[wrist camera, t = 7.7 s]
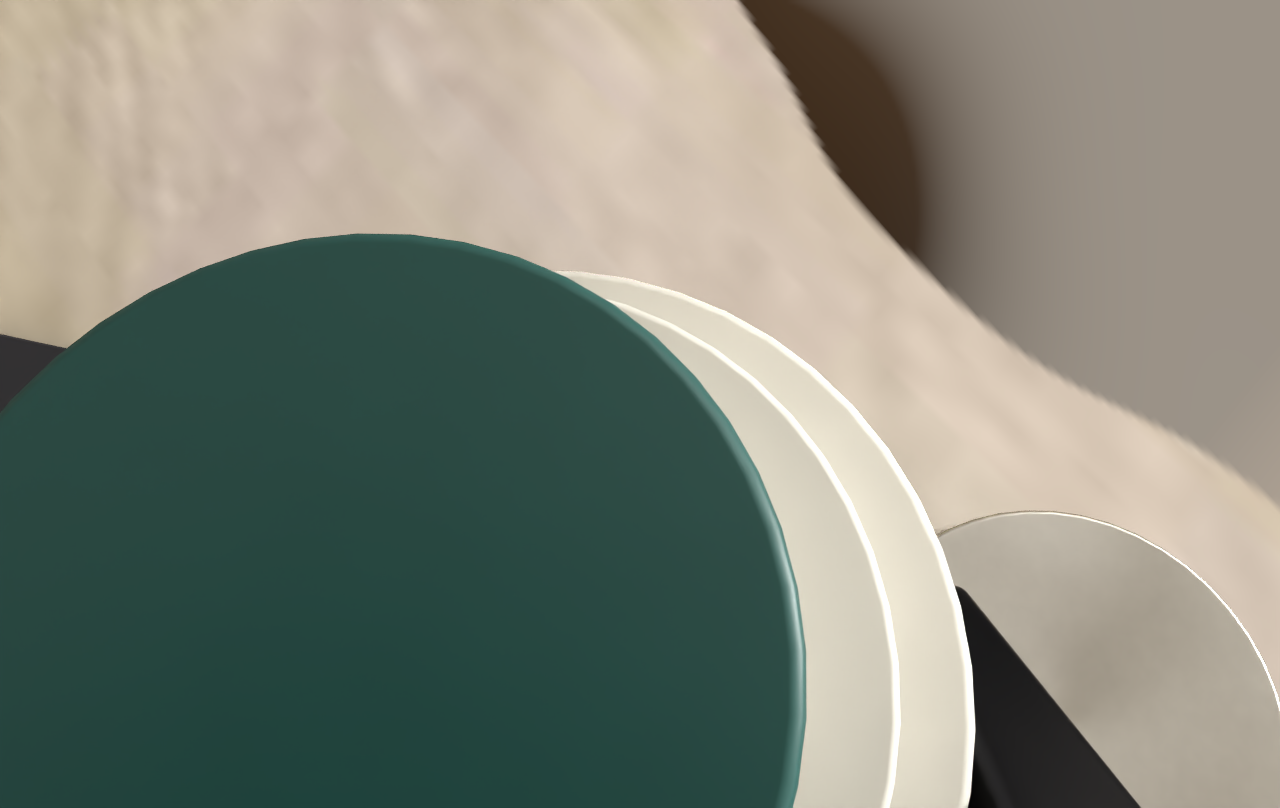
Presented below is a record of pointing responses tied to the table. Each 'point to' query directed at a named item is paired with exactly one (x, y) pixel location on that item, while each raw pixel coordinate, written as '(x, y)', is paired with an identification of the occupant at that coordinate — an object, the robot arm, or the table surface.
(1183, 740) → the off-white round coaster
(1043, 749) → the robot arm
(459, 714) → the bottle
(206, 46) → the table surface
